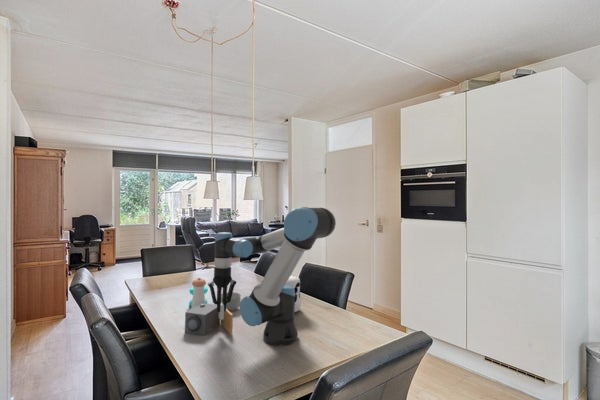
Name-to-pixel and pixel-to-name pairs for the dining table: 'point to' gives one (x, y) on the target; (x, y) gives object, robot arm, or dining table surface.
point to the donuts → (192, 294)
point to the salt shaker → (198, 292)
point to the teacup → (233, 302)
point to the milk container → (295, 284)
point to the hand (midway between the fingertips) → (221, 318)
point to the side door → (228, 321)
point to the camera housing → (201, 319)
